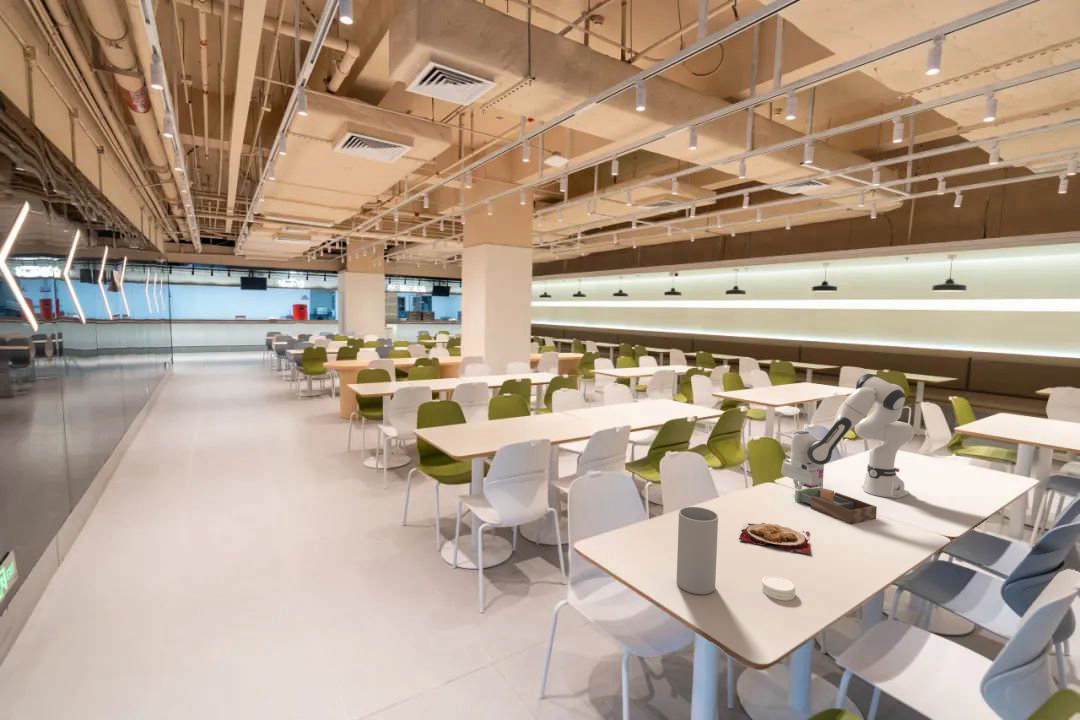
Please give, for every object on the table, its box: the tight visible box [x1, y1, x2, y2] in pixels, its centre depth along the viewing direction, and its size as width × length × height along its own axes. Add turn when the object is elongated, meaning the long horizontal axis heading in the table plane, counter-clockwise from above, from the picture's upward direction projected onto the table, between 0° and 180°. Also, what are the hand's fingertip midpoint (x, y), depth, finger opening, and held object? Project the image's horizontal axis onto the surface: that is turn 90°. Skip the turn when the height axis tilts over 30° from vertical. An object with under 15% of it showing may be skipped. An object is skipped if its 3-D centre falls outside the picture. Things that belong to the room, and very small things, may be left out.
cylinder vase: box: [676, 506, 719, 596], centre depth 167 cm, size 12×12×25 cm
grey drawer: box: [794, 487, 854, 510], centre depth 241 cm, size 17×20×6 cm
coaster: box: [761, 575, 796, 601], centre depth 164 cm, size 10×10×4 cm
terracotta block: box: [820, 488, 835, 503], centre depth 240 cm, size 5×5×6 cm
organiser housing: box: [810, 491, 878, 525], centre depth 232 cm, size 17×20×6 cm
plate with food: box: [738, 522, 811, 554], centre depth 206 cm, size 24×26×4 cm
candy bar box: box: [798, 463, 825, 489], centre depth 271 cm, size 11×5×16 cm, turn 25°
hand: (798, 489), depth 255 cm, fingers closed
